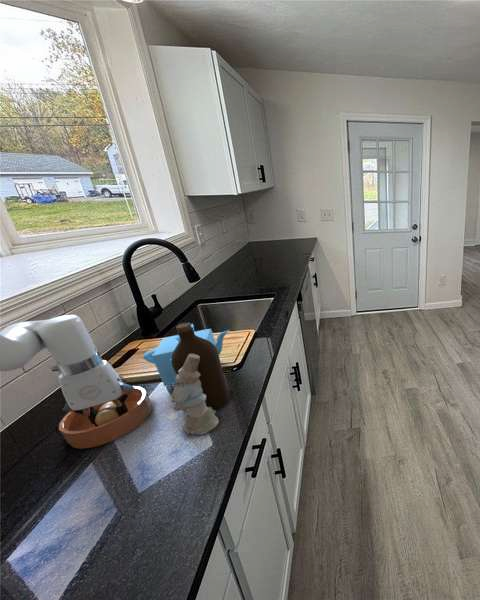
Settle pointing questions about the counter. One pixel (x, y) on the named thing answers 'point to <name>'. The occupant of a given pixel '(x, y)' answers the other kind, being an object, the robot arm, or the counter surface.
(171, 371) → the light blue teapot
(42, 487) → the counter surface
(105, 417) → the potato
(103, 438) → the terracotta dish
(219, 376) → the olive oil
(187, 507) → the counter surface
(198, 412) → the figurine
